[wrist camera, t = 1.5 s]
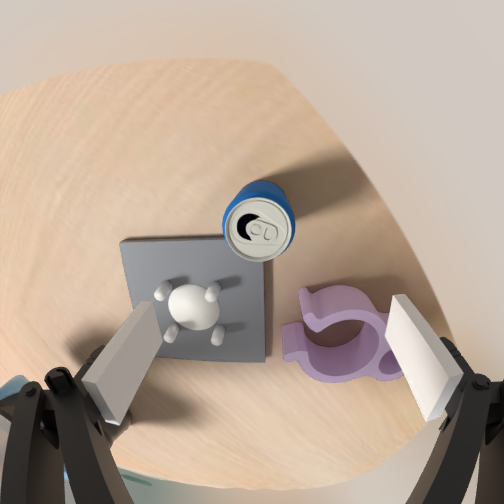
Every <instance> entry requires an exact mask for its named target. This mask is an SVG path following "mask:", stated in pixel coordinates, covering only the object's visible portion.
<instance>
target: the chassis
mask: <svg viewBox="0 0 504 504" xmlns="http://www.w3.org/2000/svg"><path fill="white" fill-rule="evenodd" d="M119 245H120V251H121V256H122V261H123V266H124V271H125V276H126V281H127V285H128V290H129V294H130V298H131V302H132V306H133V310H134V309H135V308H136V307H137V305H138V304H139V303H140V302H141V301H149V302H153V305H154V309H155V313H156V317H157V321H158V325H159V329H160V332H161V336H162V340H163V342H162V344H161V346H160V348H159V349H158V351H157V353H156V355H155V357H164V358H175V359H186V360H201V361H219V362H265V312H264V266H263V261H262V262H255V261H250V260H247V259H244V258H242V257H241V256H239V255H238V254H236V253H235V252H234V251H233V250H232V249H231V248H230V246H229V245H228V243H227V242H226V239H225V237H209V238H173V239H143V240H123V241H121V242H120V243H119Z"/></svg>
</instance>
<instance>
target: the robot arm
mask: <svg viewBox="0 0 504 504" xmlns="http://www.w3.org/2000/svg"><path fill="white" fill-rule="evenodd" d="M385 338H386V339H387V341H388V343H389V345H390V347H391V349H392V351H393V353H394V355H395V357H396V359H397V361H398V363H399V365H400V367H401V369H402V371H403V373H404V375H405V377H406V380H407V382H408V384H409V386H410V388H411V390H412V392H413V395H414V397H415V399H416V401H417V403H418V406H419V408H420V410H421V412H422V415H423V417H424V419H425V422H427V421H430V420H433V419H437V418H439V417H440V416H441V414H442V413H443V411H444V409H445V410H446V412H447V414H448V415H447V417H446V418H445V420H444V422H443V423H442V425H441V426H440V428H439V430H441V431H440V434H439V437H438V439H437V441H436V444H435V447H434V449H433V451H432V453H431V456H430V458H429V460H428V462H427V464H426V466H425V468H424V470H423V472H422V474H421V476H420V478H419V480H418V482H417V484H416V486H415V488H414V490H413V492H412V493H411V495H410V497H409V499H408V500H407V502H406V504H461V503H462V501H463V498H464V496H465V493H466V491H467V488H468V485H469V482H470V480H471V477H472V474H473V471H474V468H475V464H476V461H477V458H478V454H479V451H480V459H479V474H478V483H477V492H476V499H475V504H504V380H503V381H501V382H491V381H490V379H489V378H487V377H486V376H485V375H482V374H475V373H474V372H473V370H472V369H471V367H470V366H469V365H468V363H467V362H466V360H465V359H464V358H463V356H461V353H460V352H459V351H458V350H457V348H456V347H455V345H454V344H453V343H452V342H451V341H450V340H448V339H447V338H445V337H441V338H439V337H438V336H437V334H436V333H435V332H434V330H433V329H432V328H431V326H430V325H429V324H428V323H427V321H426V320H425V319H424V317H423V316H422V315H421V313H420V312H419V311H418V310H417V308H416V307H415V306H414V305H413V303H412V302H411V301H410V300H409V298H408V297H407V296H406V295H405V294H398V295H393V297H392V303H391V308H390V313H389V318H388V323H387V328H386V332H385ZM162 342H163V340H162V336H161V332H160V329H159V325H158V321H157V317H156V313H155V309H154V305H153V302H149V301H141V302H140V303H139V304H138V305H137V307H136V308H135V309H134V310H133V312H132V313H131V314H130V315H129V317H128V318H127V319H126V320H125V322H124V323H123V324H122V326H121V327H120V328H119V329H118V331H117V332H116V333H115V335H114V336H113V337H112V339H111V340H110V341H109V343H108V344H107V345H106V346H104V345H102V346H100V347H99V348H97V349H96V350H95V351H94V352H93V353H92V354H91V356H90V357H89V359H87V361H86V362H85V364H84V365H83V366H82V367H81V369H80V370H79V371H78V373H77V374H76V375H75V377H74V378H73V377H72V375H71V374H70V372H69V370H68V369H67V368H65V367H57V368H54V369H52V370H50V371H49V372H48V373H47V374H46V376H45V379H44V381H45V382H46V384H47V386H48V387H49V389H50V390H43V389H42V387H41V385H40V384H39V383H38V382H35V381H32V382H30V381H29V380H28V379H27V378H26V377H24V376H23V375H17V376H15V377H13V378H12V379H11V380H9V381H8V382H7V383H5V384H4V385H3V386H2V387H1V388H0V504H65V491H64V479H66V480H68V481H69V483H70V486H71V490H72V493H73V496H74V499H75V502H76V504H134V502H133V500H132V499H131V496H130V495H129V493H128V490H127V488H126V486H125V484H124V482H123V480H122V478H121V475H120V473H119V471H118V469H117V466H116V464H115V461H114V459H113V456H112V454H111V451H110V448H111V446H112V444H113V442H114V441H115V440H116V439H117V438H118V437H119V436H120V435H121V434H122V433H123V432H124V431H125V430H127V429H128V427H129V425H130V423H131V421H132V415H131V413H130V411H129V409H128V408H129V406H130V404H131V402H132V400H133V398H134V396H135V394H136V392H137V390H138V388H139V386H140V384H141V382H142V380H143V378H144V376H145V374H146V372H147V371H148V369H149V367H150V365H151V363H152V361H153V359H154V357H155V355H156V353H157V351H158V349H159V348H160V346H161V344H162ZM441 428H442V429H441Z"/></svg>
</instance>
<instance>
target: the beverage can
mask: <svg viewBox="0 0 504 504" xmlns="http://www.w3.org/2000/svg"><path fill="white" fill-rule="evenodd" d="M222 227H223V234H224V237H225V239H226V242H227V243H228V245H229V246H230V248H231V249H232V250H233V251H234V252H235V253H236V254H238V255H239V256H241V257H242V258H244V259H247V260H250V261H255V262H262V261H268V260H271V259H273V258H275V257H277V256H279V255H280V254H282V253H283V252H284V251H285V250H286V249H287V248H288V247H289V245H290V243H291V242H292V240H293V237H294V233H295V219H294V215H293V212H292V210H291V207H290V205H289V202H288V200H287V197H286V195H285V193H284V192H283V190H282V189H281V188H280V187H279V186H277V185H276V184H274V183H272V182H269V181H264V180H259V181H254V182H251V183H249V184H247V185H246V186H245V187H243V188H242V189H241V191H240V192H239V193H238V194H237V196H236V197H235V198H234V199H233V201H232V202H231V203H230V205H229V206H228V207H227V209H226V211H225V214H224V217H223V223H222Z"/></svg>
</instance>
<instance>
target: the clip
mask: <svg viewBox="0 0 504 504" xmlns="http://www.w3.org/2000/svg"><path fill="white" fill-rule="evenodd" d="M298 294H299V299H300V305H301V310H302V315H303V320H304V321H305V323H306V324H307V325H308V327H309V328H310V329H311V330H313V331H314V332H320V331H322V330H323V329H324V328H326V327H328V326H329V325H331V324H334V323H336V322H339V321H343V320H350V319H355V320H362V321H365V323H364V326H363V328H362V330H361V331H360V333H359V334H358V335H357V336H356V337H355V338H354V339H352V340H351V341H350V342H348V343H346V344H344V345H341V346H337V347H322V346H318V345H316V344H314V343H313V342H311V341H310V340H309V339H308V338H307V336H306V335H305V332H304V326H303V323H301V322H294V323H290V324H286V325H283V326H282V346H283V359H284V361H286V362H289V361H293V360H297V361H298V362H299V365H300V367H301V368H302V370H303V371H304V372H305V373H306V374H307V375H308V376H310V377H311V378H313V379H315V380H318V381H321V382H327V383H339V382H345V381H349V380H352V379H355V378H358V377H362V376H370V377H373V378H375V379H376V380H379V381H390V380H394V379H397V378H399V377H401V376H403V375H404V373H403V371H402V369H401V367H400V365H399V363H398V361H397V359H396V357H395V355H394V353H393V351H392V349H391V347H390V345H389V343H388V341H387V339H386V338H385V332H386V328H387V323H388V318H389V313H380V312H378V311H377V310H376V309H375V307H374V305H373V304H372V302H371V300H370V299H369V297H368V296H367V295H366V294H365V293H364V292H362V291H361V290H359V289H357V288H355V287H352V286H346V285H335V286H330V287H326V288H323V289H321V290H319V291H317V292H315V293H310V292H309V291H308V289H307V288H306V287H302V288H300V289H299V290H298Z"/></svg>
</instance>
